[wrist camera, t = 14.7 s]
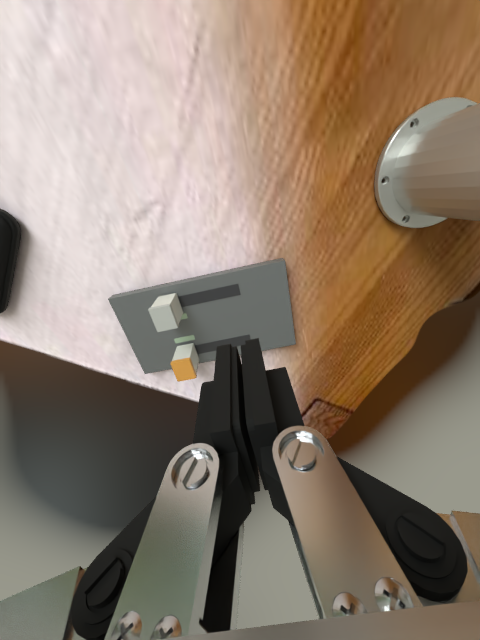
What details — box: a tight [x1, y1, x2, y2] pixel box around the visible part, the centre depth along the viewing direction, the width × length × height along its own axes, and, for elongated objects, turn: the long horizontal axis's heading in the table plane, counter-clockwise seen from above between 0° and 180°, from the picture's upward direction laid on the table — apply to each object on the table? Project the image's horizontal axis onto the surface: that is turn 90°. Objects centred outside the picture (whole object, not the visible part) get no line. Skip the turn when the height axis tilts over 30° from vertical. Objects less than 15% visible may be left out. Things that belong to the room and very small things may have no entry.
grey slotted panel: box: [108, 258, 296, 374], centre depth 36 cm, size 24×13×2 cm, turn 102°
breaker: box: [148, 293, 183, 332], centre depth 32 cm, size 3×3×4 cm
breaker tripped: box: [170, 343, 199, 381], centre depth 35 cm, size 3×3×4 cm
